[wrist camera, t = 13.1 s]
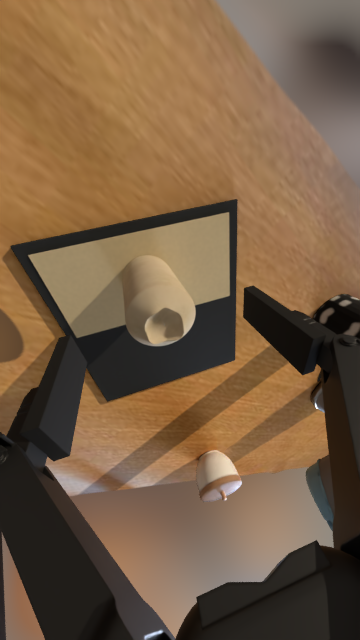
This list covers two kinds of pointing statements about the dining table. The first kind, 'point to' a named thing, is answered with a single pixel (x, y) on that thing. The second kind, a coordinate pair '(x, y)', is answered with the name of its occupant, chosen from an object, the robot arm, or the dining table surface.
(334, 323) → the spotted tube
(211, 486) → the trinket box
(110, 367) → the table mat
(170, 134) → the dining table surface
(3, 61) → the dining table surface
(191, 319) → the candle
